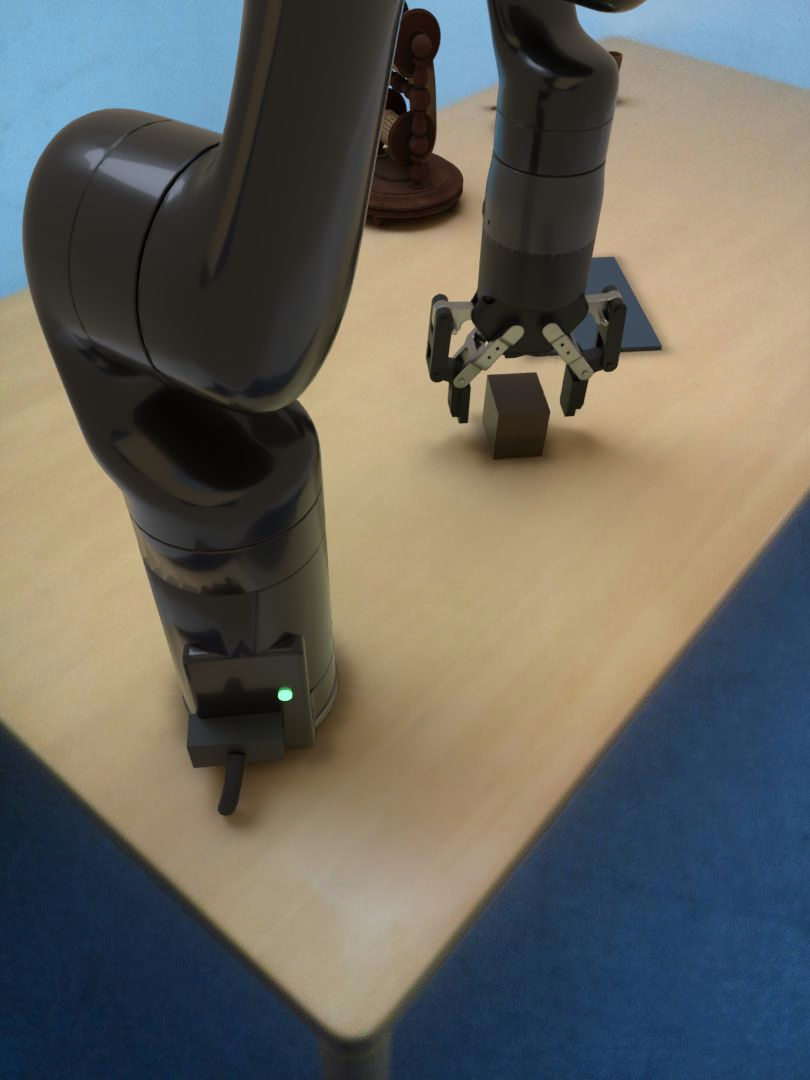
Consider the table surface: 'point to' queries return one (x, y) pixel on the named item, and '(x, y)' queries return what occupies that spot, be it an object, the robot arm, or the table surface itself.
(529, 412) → the walnut block
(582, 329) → the grey mat
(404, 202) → the brown wooden upright stand
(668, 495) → the table surface
